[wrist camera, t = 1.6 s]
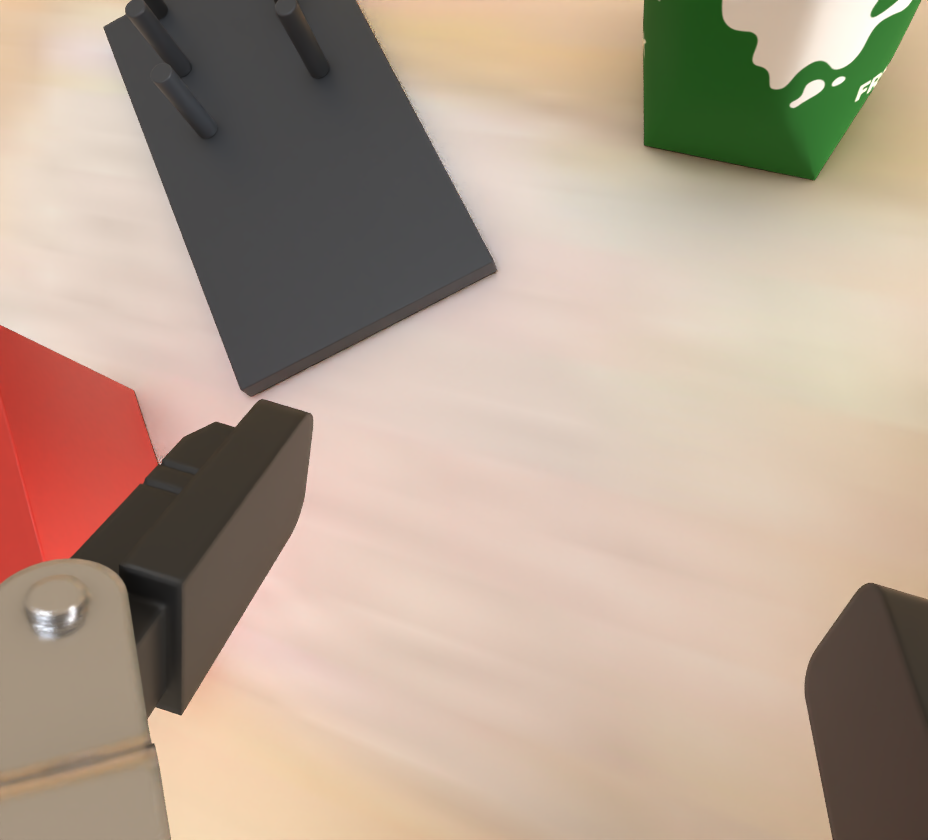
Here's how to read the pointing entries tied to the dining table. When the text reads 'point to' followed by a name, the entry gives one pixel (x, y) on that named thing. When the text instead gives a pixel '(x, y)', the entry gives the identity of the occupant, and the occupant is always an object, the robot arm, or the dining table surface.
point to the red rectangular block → (61, 452)
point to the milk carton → (764, 76)
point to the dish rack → (293, 175)
